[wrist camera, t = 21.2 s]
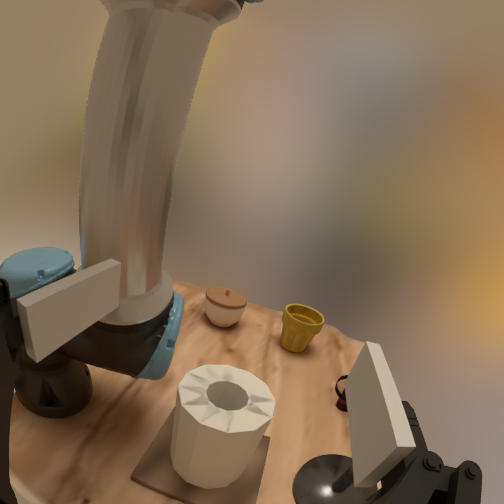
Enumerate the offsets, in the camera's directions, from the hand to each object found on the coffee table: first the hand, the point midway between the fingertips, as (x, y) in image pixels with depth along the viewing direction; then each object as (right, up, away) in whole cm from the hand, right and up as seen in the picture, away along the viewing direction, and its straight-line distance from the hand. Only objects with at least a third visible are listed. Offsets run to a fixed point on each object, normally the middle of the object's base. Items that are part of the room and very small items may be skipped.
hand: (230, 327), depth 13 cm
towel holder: (+14, -32, +14) cm, 38 cm away
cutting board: (-5, -26, +17) cm, 32 cm away
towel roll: (-5, -25, +16) cm, 30 cm away
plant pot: (+12, -21, +55) cm, 60 cm away
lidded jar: (-7, -15, +58) cm, 61 cm away
